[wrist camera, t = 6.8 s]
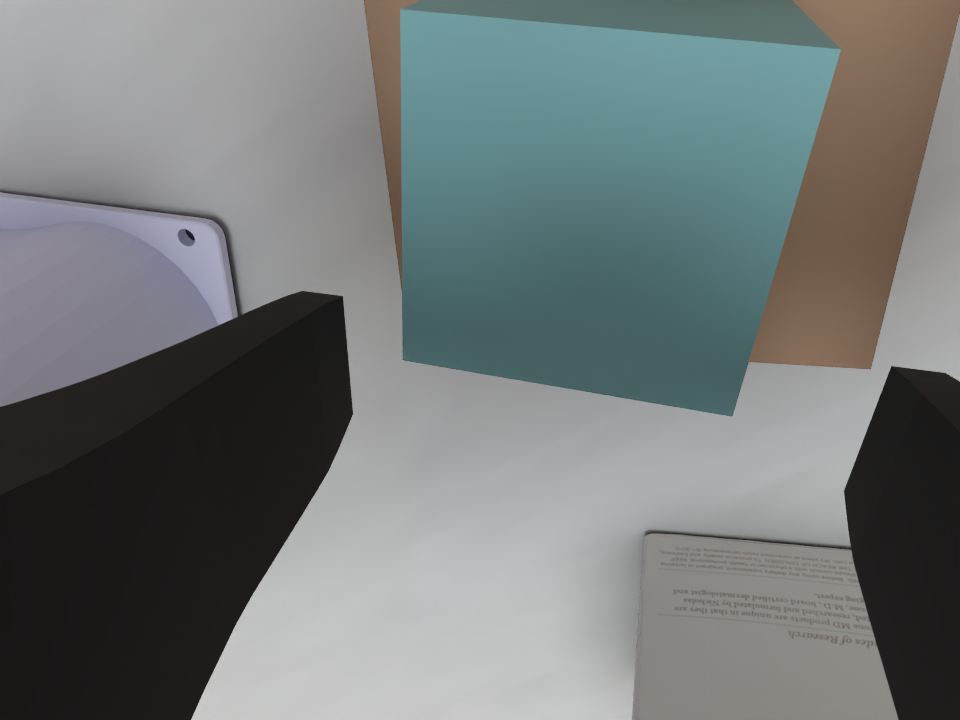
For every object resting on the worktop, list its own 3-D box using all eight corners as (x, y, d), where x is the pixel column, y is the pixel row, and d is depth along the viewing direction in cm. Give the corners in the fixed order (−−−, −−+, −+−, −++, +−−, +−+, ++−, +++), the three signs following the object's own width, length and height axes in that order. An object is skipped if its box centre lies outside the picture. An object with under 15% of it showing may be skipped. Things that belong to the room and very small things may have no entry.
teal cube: (476, 237, 16) (403, 360, 12) (489, -29, 13) (400, 9, 9) (718, 270, 15) (732, 416, 11) (786, -5, 12) (841, 50, 8)
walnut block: (451, 270, 21) (408, 341, 17) (411, -166, 16) (339, -182, 12) (836, 284, 19) (871, 369, 15) (940, -218, 13) (1025, -253, 10)
